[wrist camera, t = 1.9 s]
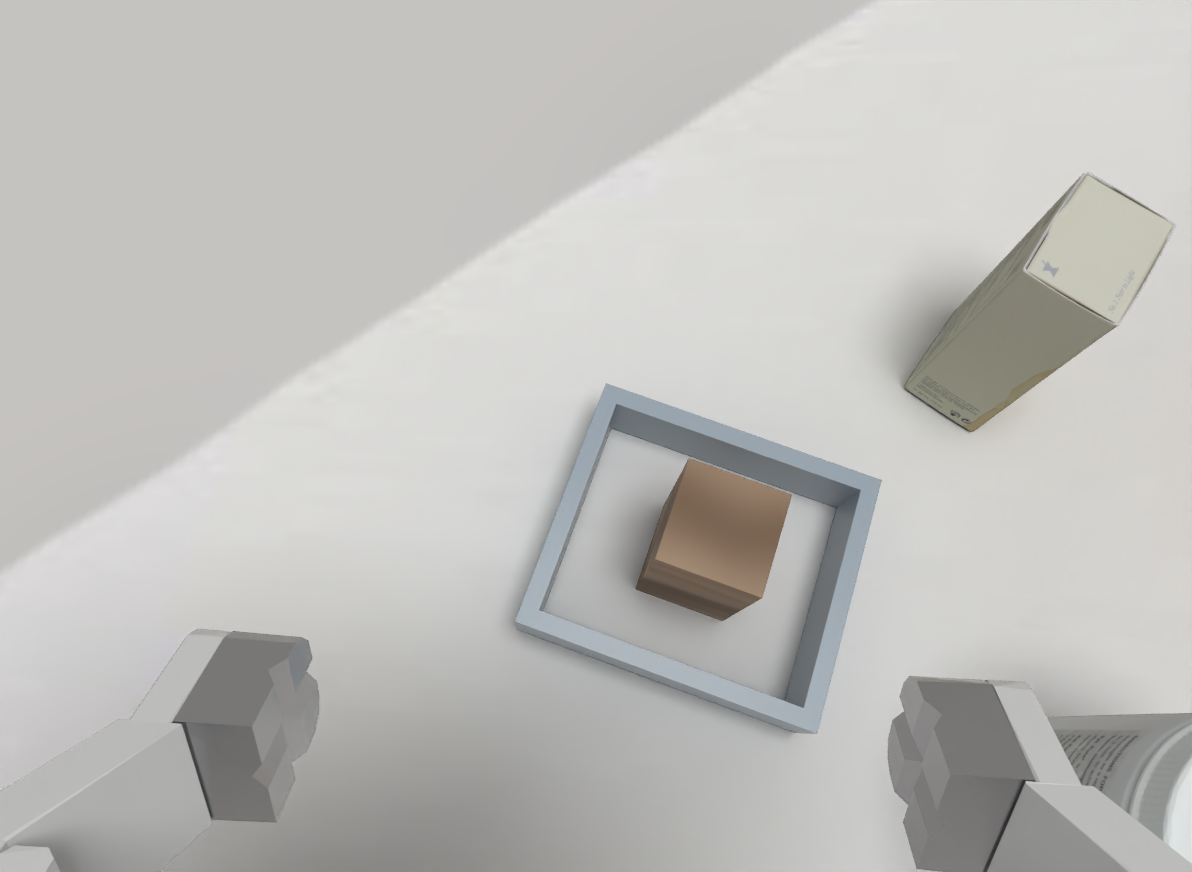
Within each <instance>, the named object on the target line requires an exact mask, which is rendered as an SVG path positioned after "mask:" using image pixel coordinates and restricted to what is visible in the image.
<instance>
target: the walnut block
mask: <svg viewBox="0 0 1192 872" xmlns="http://www.w3.org/2000/svg"><path fill="white" fill-rule="evenodd" d="M791 497H792V495H791V494H788V493H785V492H782V491H780V490H777V489H774V488H771V487H768V486H766V485H763V484H760V483H757V482H754V481H751V480H749V479H746V478H743V477H740V476H737V475H735V474H732V473H729V472H726V471H723V470H720V469H718V468H715V467H712V466H709V465H706V464H704V463H701V462H698V461H695V460H692V459H688V461H687V463H686V465H685V467H684V469H683V471H682V472H681V474H680V476H679V478H678V480H677V482H676V484H675V486H674V487H673V489H672V491H671V493H670V495H669V497H668V499H667V501H666V502H665V504H664V507H663V510H662V513H661V515H660V518H659V521H658V524H657V527H656V530H655V533H654V536H653V539H652V542H651V545H650V548H649V551H648V554H647V557H646V560H645V562H644V565H643V568H642V571H641V574H640V577H639V580H638V583H637V586H636V589H637V590H639V591H642V592H645V593H647V594H650V595H653V596H656V597H658V598H661V599H664V600H667V601H669V602H672V603H675V604H678V605H680V606H683V607H686V608H688V609H691V610H694V611H697V612H699V613H702V614H705V615H708V616H710V617H713V618H716V619H718V620H721V621H723V620H725V619H727V618H728V617H730V616H732V615H734V614H735V613H737V612H739V611H740V610H742V609H744V608H746V607H747V606H749V605H751V604H753V603H754V602H756V601H758V600H759V599H761V598H762V597H763V593H764V590H765V586H766V583H767V580H768V576H769V573H770V569H771V566H772V562H773V559H774V555H775V552H776V548H777V545H778V542H779V538H780V535H781V531H782V528H783V524H784V521H785V517H786V514H787V510H788V507H789V504H790V500H791Z"/></svg>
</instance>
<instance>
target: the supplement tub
mask: <svg viewBox="0 0 1192 872" xmlns="http://www.w3.org/2000/svg"><path fill="white" fill-rule="evenodd" d="M1047 719H1048V721H1049V723H1050V725H1051V727H1052V729H1053V730H1054V732H1055V734H1056V736H1057V738H1058V740H1059V742H1060V744H1061V746H1062V748H1063V750H1064V752H1065V754H1066V756H1067V758H1068V760H1069V761H1070V763H1071V765H1072V767H1073V769H1074V771H1075V773H1076V775H1077V777H1078V779H1079V781H1080V783H1081V785H1085V786H1094V787H1095V788H1096V789H1098V790H1099V791H1100V792H1102V793H1103V794H1104V795H1105V796H1107V797H1108V798H1109V799H1110V800H1112V801H1113V802H1114V803H1115V804H1117V805H1118V806H1119V807H1121V808H1122V809H1123V810H1124V811H1126V812H1127V813H1128V814H1129V815H1131V816H1132V817H1133V818H1134V819H1136V820H1137V821H1138V822H1139V823H1141V824H1142V825H1143V826H1145V827H1146V828H1147V829H1148V830H1150V831H1151V832H1152V833H1153V834H1155V835H1156V836H1157V837H1158V838H1160V839H1161V840H1162V841H1164V842H1165V843H1166V844H1167V845H1169V846H1170V847H1171V848H1172V849H1174V850H1175V851H1176V852H1177V853H1179V854H1180V855H1181V856H1182V857H1184V858H1185V859H1186V860H1188V861H1189V862H1190V863H1191V864H1192V713H1178V714H1135V715H1101V716H1067V717H1047Z"/></svg>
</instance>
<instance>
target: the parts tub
mask: <svg viewBox="0 0 1192 872" xmlns="http://www.w3.org/2000/svg"><path fill="white" fill-rule="evenodd" d="M611 428H613V429H616V430H619V431H621V432H624V433H627V434H630V435H633V436H636V437H638V438H641V439H644V440H647V441H650V442H652V443H655V444H658V445H661V446H664V447H667V448H669V449H672V450H675V451H678V452H681V453H683V454H686V455H689V456H692V457H695V458H698V459H700V460H703V461H706V462H709V463H712V464H714V465H717V466H720V467H723V468H726V469H729V470H731V471H734V472H737V473H740V474H743V475H746V476H748V477H751V478H754V479H757V480H760V481H762V482H765V483H768V484H771V485H774V486H777V487H779V488H782V489H785V490H788V491H791V492H793V493H796V494H799V495H802V496H805V497H808V498H810V499H813V500H816V501H819V502H822V503H824V504H827V505H830V506H833V507H836V508H837V509H836V512H835V516H834V520H833V524H832V527H831V531H830V535H829V538H828V542H827V546H826V549H825V553H824V557H823V561H822V564H821V568H820V572H819V575H818V579H817V583H816V587H815V590H814V594H813V598H812V601H811V605H810V609H809V612H808V616H807V620H806V624H805V627H804V631H803V635H802V638H801V642H800V646H799V650H798V653H797V657H796V661H795V664H794V668H793V672H792V676H791V679H790V683H789V687H788V690H787V694H786V698H785V701H783V700H781V699H778V698H775V697H772V696H770V695H767V694H764V693H762V692H759V691H756V690H753V689H751V688H748V687H745V686H743V685H740V684H737V683H735V682H732V681H729V680H726V679H724V678H721V677H718V676H716V675H713V674H710V673H708V672H705V671H702V670H699V669H697V668H694V667H691V666H689V665H686V664H683V663H681V662H678V661H675V660H672V659H670V658H667V657H664V656H662V655H659V654H656V653H653V652H651V651H648V650H645V649H643V648H640V647H637V646H635V645H632V644H629V643H626V642H624V641H621V640H618V639H616V638H613V637H610V636H608V635H605V634H602V633H599V632H597V631H594V630H591V629H589V628H586V627H583V626H581V625H578V624H575V623H572V622H570V621H567V620H564V619H562V618H559V617H556V616H554V615H551V614H548V613H545V612H543V609H544V607H545V604H546V601H547V599H548V596H549V593H550V591H551V588H552V585H553V583H554V580H555V577H556V574H557V572H558V569H559V566H560V564H561V561H562V558H563V556H564V553H565V550H566V548H567V545H568V542H569V540H570V537H571V534H572V532H573V529H574V526H575V524H576V521H577V518H578V515H579V513H580V510H581V507H582V505H583V502H584V499H585V497H586V494H587V491H588V489H589V486H590V483H591V481H592V478H593V475H594V473H595V470H596V467H597V465H598V462H599V459H600V457H601V454H602V451H603V448H604V446H605V443H606V440H607V438H608V435H609V432H610V430H611ZM880 484H881V480H880V479H877V478H874V477H871V476H868V475H866V474H863V473H860V472H857V471H854V470H851V469H848V468H846V467H843V466H840V465H837V464H834V463H831V462H829V461H826V460H823V459H820V458H817V457H814V456H811V455H809V454H806V453H803V452H800V451H797V450H794V449H792V448H789V447H786V446H783V445H780V444H777V443H774V442H772V441H769V440H766V439H763V438H760V437H757V436H755V435H752V434H749V433H746V432H743V431H740V430H737V429H735V428H732V427H729V426H726V425H723V424H720V423H718V422H715V421H712V420H709V419H706V418H703V417H700V416H698V415H695V414H692V413H689V412H686V411H683V410H681V409H678V408H675V407H672V406H669V405H666V404H663V403H661V402H658V401H655V400H652V399H649V398H646V397H644V396H641V395H638V394H635V393H632V392H629V391H626V390H624V389H621V388H618V387H615V386H612V385H609V384H607V383H606V385H605V387H604V390H603V392H602V395H601V398H600V400H599V403H598V405H597V408H596V411H595V413H594V416H593V419H592V421H591V424H590V426H589V429H588V432H587V434H586V437H585V440H584V442H583V445H582V447H581V450H580V453H579V455H578V458H577V460H576V463H575V466H574V468H573V471H572V474H571V476H570V479H569V481H568V484H567V487H566V489H565V492H564V494H563V497H562V500H561V502H560V505H559V508H558V510H557V513H556V515H555V518H554V521H553V523H552V526H551V528H550V531H549V534H548V536H547V539H546V542H545V544H544V547H543V549H542V552H541V555H540V557H539V560H538V562H537V565H536V568H535V570H534V573H533V576H532V578H531V581H530V583H529V586H528V589H527V591H526V594H525V596H524V599H523V602H522V604H521V607H520V610H519V612H518V615H517V617H516V620H515V623H516V626H517V629H518V630H520V631H523V632H526V633H528V634H531V635H534V636H536V637H539V638H542V639H544V640H547V641H550V642H552V643H555V644H558V645H561V646H563V647H566V648H569V649H571V650H574V651H577V652H579V653H582V654H585V655H587V656H590V657H593V658H595V659H598V660H601V661H604V662H606V663H609V664H612V665H614V666H617V667H620V668H622V669H625V670H628V671H630V672H633V673H636V674H638V675H641V676H644V677H647V678H649V679H652V680H655V681H657V682H660V683H663V684H665V685H668V686H671V687H673V688H676V689H679V690H681V691H684V692H687V693H690V694H692V695H695V696H698V697H700V698H703V699H706V700H708V701H711V702H714V703H716V704H719V705H722V706H724V707H727V708H730V709H733V710H735V711H738V712H741V713H743V714H746V715H749V716H751V717H754V718H757V719H759V720H762V721H765V722H767V723H770V724H773V725H776V726H778V727H781V728H784V729H786V730H789V731H792V732H794V733H814V734H817V732H818V728H819V724H820V720H821V716H822V712H823V708H824V704H825V701H826V697H827V693H828V689H829V685H830V681H831V677H832V673H833V669H834V665H835V661H836V657H837V653H838V649H839V646H840V642H841V638H842V634H843V630H844V626H845V622H846V618H847V614H848V610H849V606H850V602H851V598H852V594H853V591H854V587H855V583H856V579H857V575H858V571H859V567H860V563H861V559H862V555H863V551H864V547H865V543H866V539H867V536H868V532H869V528H870V524H871V520H872V516H873V512H874V508H875V504H876V500H877V496H878V492H879V488H880Z"/></svg>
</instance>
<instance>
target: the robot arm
mask: <svg viewBox="0 0 1192 872" xmlns="http://www.w3.org/2000/svg"><path fill="white" fill-rule="evenodd" d="M311 660H312V654H311V650H310V646H309V641H308V640H306V639H304V638H302V637H292V636H280V635H269V634H258V633H247V632H236V631H233V632H227V631H216V630H205V629H196V630H195V631H193V632H192V633H190V634H189V635H188V636H187V637H186V638H185V639H184V641H183V642H182V644H181V645H180V647H179V648H178V650H177V651H176V653H175V654H174V655H173V657H172V658H171V660H170V661H169V663H168V664H167V666H166V667H165V669H164V670H163V672H162V673H161V675H160V676H159V678H158V679H157V680H156V682H155V683H154V685H153V686H152V688H151V689H150V691H149V692H148V694H147V695H146V697H145V698H144V700H143V701H142V702H141V704H140V705H139V707H138V708H137V710H136V711H135V713H134V714H133V716H132V717H131V719H130V720H120V719H119V720H117V721H115V722H114V723H112V724H110V725H109V726H107V727H105V728H104V729H102V730H101V731H99V732H97V733H96V734H94V735H92V736H91V737H89V738H87V739H86V740H84V741H82V742H81V743H79V744H77V745H76V746H74V747H73V748H71V749H69V750H68V751H66V752H64V753H63V754H61V755H59V756H58V757H56V758H54V759H53V760H51V761H49V762H48V763H46V764H45V765H43V766H41V767H40V768H38V769H36V770H35V771H33V772H31V773H30V774H28V775H26V776H25V777H23V778H21V779H20V780H18V781H17V782H15V783H13V784H12V785H10V786H8V787H7V788H5V789H3V790H2V791H0V872H159V871H160V870H161V869H162V868H163V867H165V866H166V865H167V864H168V863H169V862H170V861H171V860H172V859H173V858H174V857H176V856H177V855H178V854H179V853H180V852H181V851H182V850H183V849H184V848H186V847H187V846H188V845H189V844H190V843H191V842H192V841H193V840H194V839H196V838H197V837H198V836H199V835H200V834H201V833H202V832H203V831H204V830H206V829H207V828H208V827H209V826H210V825H211V824H212V820H234V821H257V822H277V819H278V817H279V815H280V813H281V810H282V808H283V806H284V803H285V801H286V799H287V797H288V794H289V792H290V790H291V787H292V785H293V783H294V781H295V776H294V771H293V766H292V762H293V761H295V760H296V759H297V758H299V757H300V756H301V755H303V754H304V753H305V752H306V751H307V750H308V748H309V745H310V743H311V740H312V738H313V735H314V733H315V728H316V724H317V719H318V714H319V691H318V685H317V681H316V680H315V679H314V678H312V677H311V676H310V675H309V674H308V673H307V672H306V671H307V669H308V667H309V664H310V662H311ZM900 699H901V702H902V706H903V709H904V712H903V713H901V714H900V715H899V716H897V717H896V718H895V719H893V721H892V725H891V729H890V733H889V737H888V764H889V771H890V776H891V780H892V784H893V788H894V792H895V793H896V794H897V795H898V796H899V797H900V798H902V799H903V800H904V801H905V802H906V803H907V804H908V808H907V811H906V814H905V817H904V821H903V823H904V827H905V830H906V834H907V837H908V841H909V844H910V848H911V851H912V854H913V858H914V861H915V865H916V868H917V869H922V870H932V871H942V872H1192V864H1191V863H1190V862H1189V861H1188V860H1186V859H1185V858H1184V857H1182V856H1181V855H1180V854H1179V853H1177V852H1176V851H1175V850H1174V849H1172V848H1171V847H1170V846H1169V845H1167V844H1166V843H1165V842H1164V841H1162V840H1161V839H1160V838H1158V837H1157V836H1156V835H1155V834H1153V833H1152V832H1151V831H1150V830H1148V829H1147V828H1146V827H1145V826H1143V825H1142V824H1141V823H1139V822H1138V821H1137V820H1136V819H1134V818H1133V817H1132V816H1131V815H1129V814H1128V813H1127V812H1126V811H1124V810H1123V809H1122V808H1121V807H1119V806H1118V805H1117V804H1115V803H1114V802H1113V801H1112V800H1110V799H1109V798H1108V797H1107V796H1105V795H1104V794H1103V793H1102V792H1100V791H1099V790H1098V789H1096V788H1095V787H1094V786H1085V785H1081V783H1080V781H1079V779H1078V777H1077V775H1076V773H1075V771H1074V769H1073V767H1072V765H1071V763H1070V761H1069V760H1068V758H1067V756H1066V754H1065V752H1064V750H1063V748H1062V746H1061V744H1060V742H1059V740H1058V738H1057V736H1056V734H1055V732H1054V730H1053V729H1052V727H1051V725H1050V723H1049V721H1048V719H1047V717H1046V715H1045V713H1044V711H1043V709H1042V707H1041V705H1040V703H1039V701H1038V700H1037V698H1036V696H1035V694H1034V692H1033V690H1032V688H1031V687H1030V686H1029V685H1027V684H1026V683H1025V682H1013V681H994V680H985V681H983V680H974V679H956V678H938V677H920V676H909V677H908V678H907V679H906V681H905V682H904V684H903V687H902V690H901V693H900Z"/></svg>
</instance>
